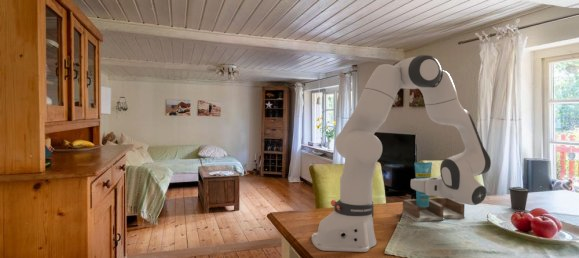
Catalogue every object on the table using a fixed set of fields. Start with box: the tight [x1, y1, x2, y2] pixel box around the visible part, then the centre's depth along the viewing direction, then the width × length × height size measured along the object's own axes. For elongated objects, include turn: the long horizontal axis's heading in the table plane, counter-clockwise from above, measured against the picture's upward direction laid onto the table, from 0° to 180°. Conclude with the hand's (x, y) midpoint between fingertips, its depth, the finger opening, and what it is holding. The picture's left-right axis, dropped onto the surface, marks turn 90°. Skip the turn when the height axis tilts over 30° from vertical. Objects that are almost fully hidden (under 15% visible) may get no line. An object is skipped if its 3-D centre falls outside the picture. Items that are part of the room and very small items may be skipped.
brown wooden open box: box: [402, 198, 444, 222], centre depth 140 cm, size 12×12×6 cm
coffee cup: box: [508, 186, 530, 211], centre depth 153 cm, size 8×8×10 cm
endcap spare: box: [429, 196, 466, 219], centre depth 144 cm, size 12×12×6 cm
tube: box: [414, 161, 433, 207], centre depth 140 cm, size 7×5×19 cm, turn 93°
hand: (421, 179), depth 141 cm, fingers closed on tube, 6 cm apart
